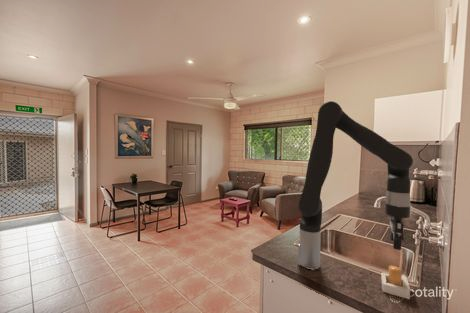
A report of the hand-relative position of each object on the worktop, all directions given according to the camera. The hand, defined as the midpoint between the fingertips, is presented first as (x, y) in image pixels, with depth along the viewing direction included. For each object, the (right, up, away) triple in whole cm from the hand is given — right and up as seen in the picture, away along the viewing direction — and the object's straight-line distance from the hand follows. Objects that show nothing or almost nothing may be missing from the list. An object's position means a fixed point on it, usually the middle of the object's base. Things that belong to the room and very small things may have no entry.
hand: (395, 244), depth 81 cm
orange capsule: (0, -17, +1) cm, 17 cm away
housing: (0, -17, +1) cm, 17 cm away
